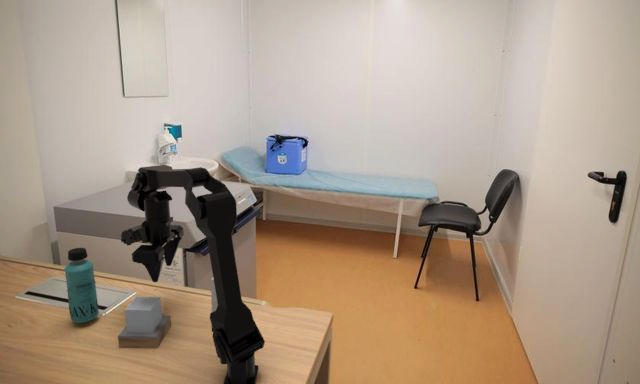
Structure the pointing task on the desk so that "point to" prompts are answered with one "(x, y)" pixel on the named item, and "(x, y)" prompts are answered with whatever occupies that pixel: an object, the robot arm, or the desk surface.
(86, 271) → the beverage bottle
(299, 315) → the desk surface
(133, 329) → the cube
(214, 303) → the skincare box
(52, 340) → the desk surface
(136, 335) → the base
